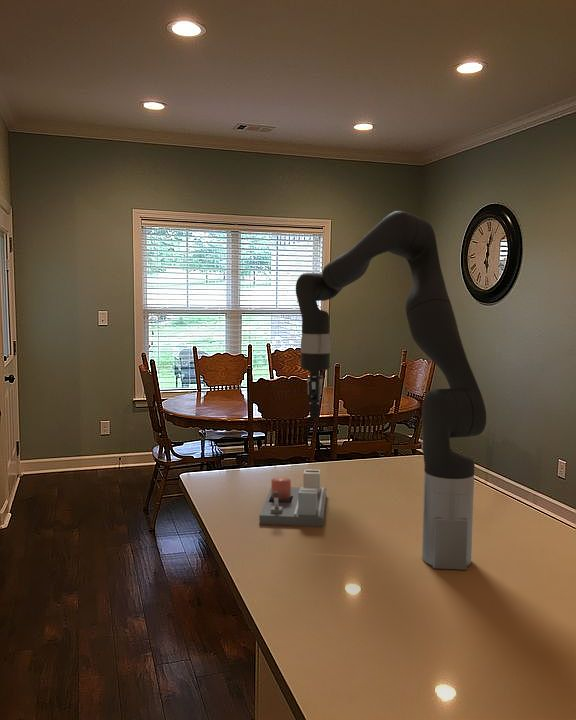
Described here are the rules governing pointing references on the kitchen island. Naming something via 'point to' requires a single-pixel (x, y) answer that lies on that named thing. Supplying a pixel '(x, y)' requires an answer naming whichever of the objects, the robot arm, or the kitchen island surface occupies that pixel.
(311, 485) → the cream fader knob
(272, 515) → the panel
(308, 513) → the slate-blue fader knob
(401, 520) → the kitchen island surface
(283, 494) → the red push button
